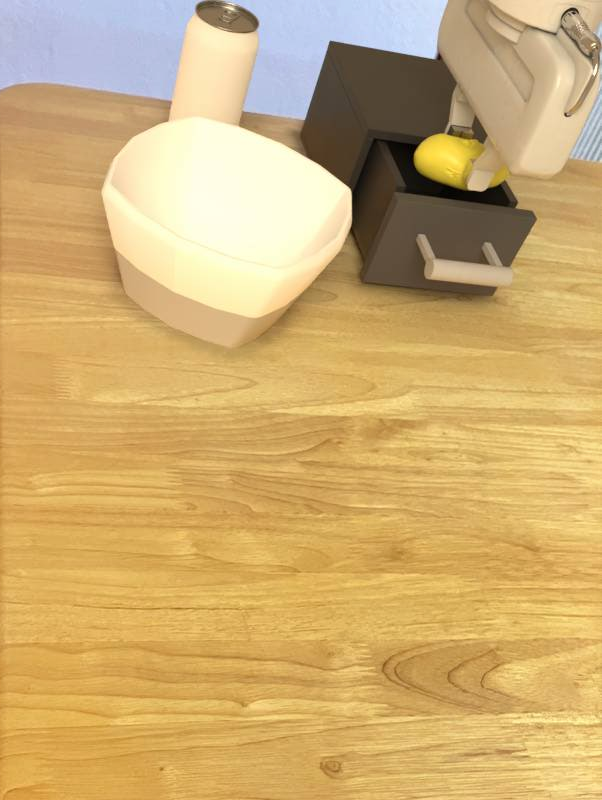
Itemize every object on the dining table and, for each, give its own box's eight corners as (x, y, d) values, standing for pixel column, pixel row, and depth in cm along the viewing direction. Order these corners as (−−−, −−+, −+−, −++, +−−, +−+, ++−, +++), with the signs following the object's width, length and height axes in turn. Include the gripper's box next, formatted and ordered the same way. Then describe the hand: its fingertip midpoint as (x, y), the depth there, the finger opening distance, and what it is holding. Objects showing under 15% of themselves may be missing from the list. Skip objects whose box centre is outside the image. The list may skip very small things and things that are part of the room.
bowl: (343, 289, 75) (384, 189, 68) (258, 403, 64) (296, 299, 57) (163, 200, 78) (184, 94, 70) (51, 295, 67) (63, 182, 59)
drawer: (511, 334, 75) (560, 256, 69) (376, 321, 72) (415, 238, 66) (445, 202, 86) (482, 125, 80) (327, 185, 83) (356, 104, 77)
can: (154, 150, 82) (179, 14, 73) (177, 122, 86) (204, -11, 77) (218, 175, 82) (252, 42, 73) (238, 146, 86) (273, 16, 77)
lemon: (406, 158, 74) (425, 113, 71) (496, 184, 75) (518, 140, 72) (407, 184, 71) (426, 138, 68) (500, 210, 72) (524, 166, 69)
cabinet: (464, 245, 84) (513, 150, 76) (330, 229, 81) (368, 128, 73) (420, 156, 93) (460, 63, 86) (298, 138, 90) (329, 40, 82)
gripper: (652, 60, 56) (540, 247, 66) (539, -68, 68) (460, 108, 78) (565, 43, 54) (465, 238, 65) (465, -85, 66) (395, 97, 77)
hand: (461, 166), depth 72 cm, fingers closed on lemon, 4 cm apart
